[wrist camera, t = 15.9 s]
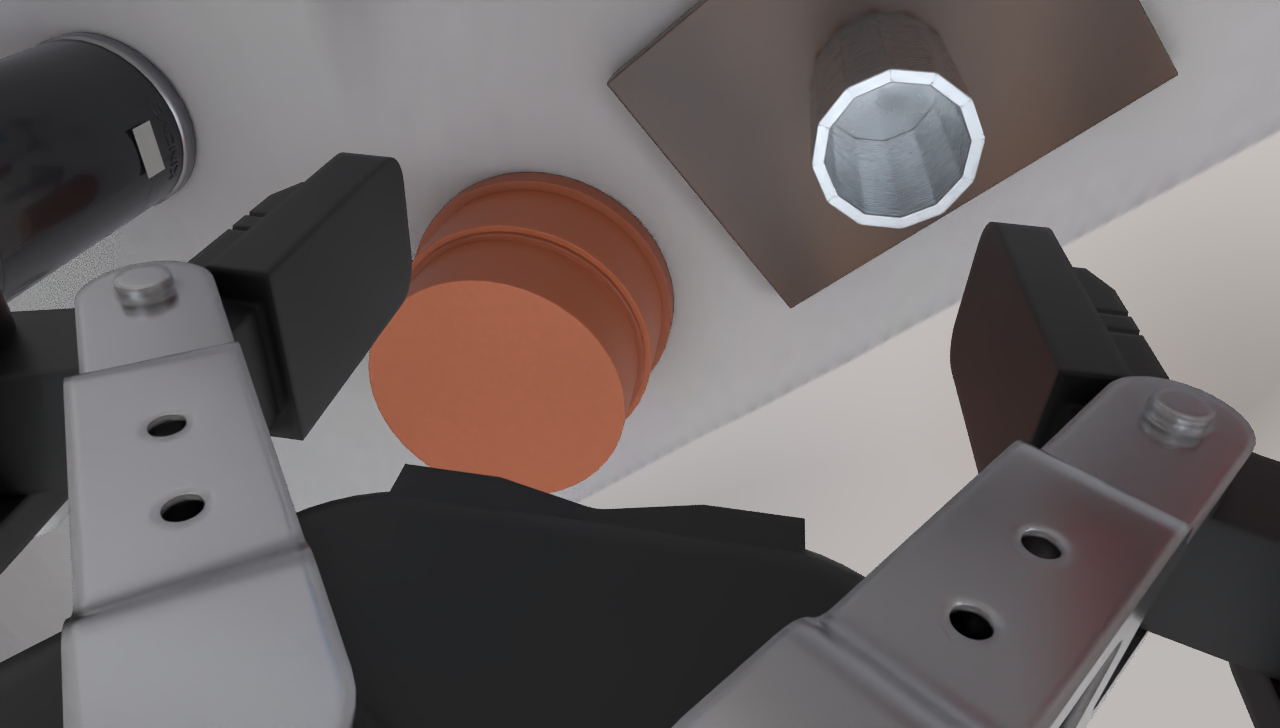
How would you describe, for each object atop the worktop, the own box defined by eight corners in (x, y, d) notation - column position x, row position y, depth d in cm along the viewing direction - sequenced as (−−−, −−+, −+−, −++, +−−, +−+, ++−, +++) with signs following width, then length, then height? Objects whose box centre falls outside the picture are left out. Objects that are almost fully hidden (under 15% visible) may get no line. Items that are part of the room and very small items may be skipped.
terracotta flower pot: (432, 384, 56) (368, 491, 47) (407, 159, 47) (323, 240, 39) (666, 414, 54) (641, 529, 46) (682, 185, 46) (656, 277, 38)
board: (790, 295, 48) (790, 309, 47) (611, 75, 43) (605, 83, 42) (1167, 65, 39) (1179, 75, 38) (997, -250, 34) (1004, -250, 33)
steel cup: (802, 140, 42) (802, 219, 35) (822, 6, 39) (826, 62, 31) (932, 152, 41) (960, 235, 34) (964, 17, 38) (1002, 77, 31)
